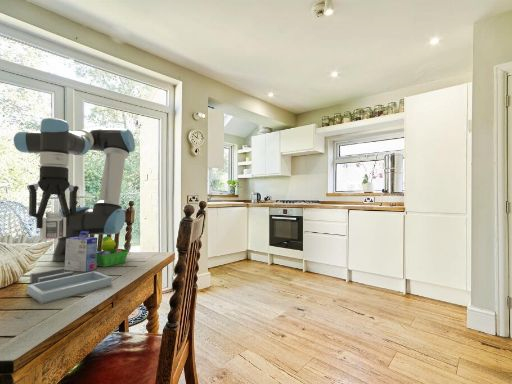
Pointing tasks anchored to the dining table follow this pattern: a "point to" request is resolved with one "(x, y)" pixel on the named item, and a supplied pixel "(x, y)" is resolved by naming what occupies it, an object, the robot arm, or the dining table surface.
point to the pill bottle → (53, 225)
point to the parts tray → (68, 286)
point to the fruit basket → (110, 253)
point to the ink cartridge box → (81, 253)
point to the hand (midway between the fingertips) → (53, 237)
